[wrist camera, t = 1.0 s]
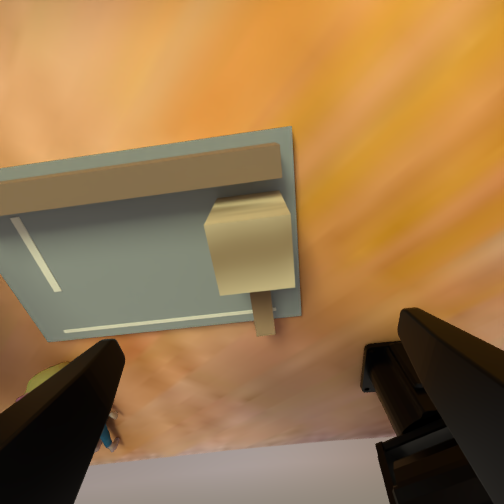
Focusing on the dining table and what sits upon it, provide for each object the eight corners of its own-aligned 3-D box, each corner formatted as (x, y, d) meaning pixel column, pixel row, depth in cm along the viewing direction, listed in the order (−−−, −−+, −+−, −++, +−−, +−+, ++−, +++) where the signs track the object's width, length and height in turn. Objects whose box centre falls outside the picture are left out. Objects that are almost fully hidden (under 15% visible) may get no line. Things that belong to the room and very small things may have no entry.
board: (299, 309, 21) (307, 339, 18) (54, 335, 22) (24, 367, 19) (289, 126, 15) (299, 125, 12) (-52, 176, 16) (-122, 187, 13)
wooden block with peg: (289, 312, 20) (300, 365, 15) (240, 318, 20) (237, 371, 16) (279, 190, 16) (290, 214, 11) (216, 198, 16) (203, 225, 11)
